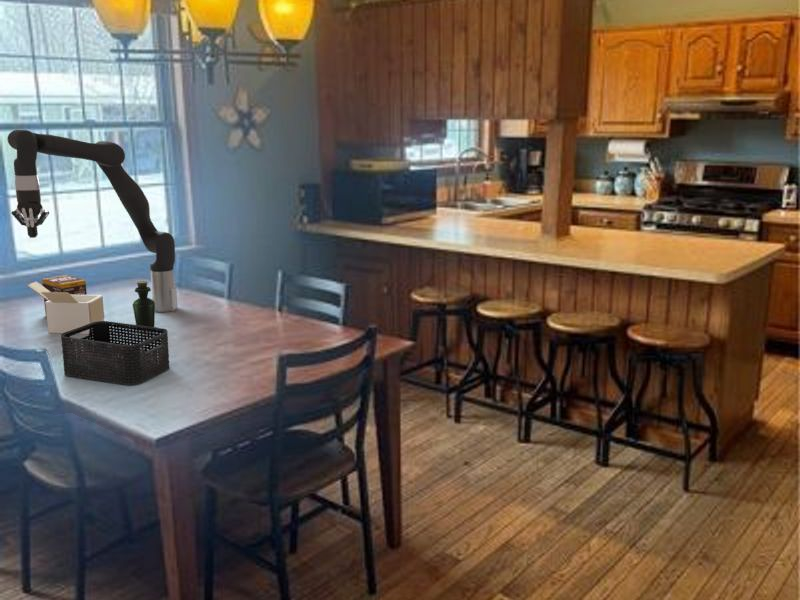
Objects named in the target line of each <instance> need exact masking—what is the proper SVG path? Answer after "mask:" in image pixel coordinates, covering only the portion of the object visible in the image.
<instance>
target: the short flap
mask: <svg viewBox="0 0 800 600" xmlns="http://www.w3.org/2000/svg"><path fill="white" fill-rule="evenodd" d="M27 287H29V288H30V289H31V290H32V291H34V292H35V293H36V294H38V295H40V296H41V297H42V298H43V299H44V298H45V299H46V300H48V298H47V297H45V296H44V295H43V294H42V293H41V292H50V291H49V290H47V289H46V288H45V287H43V284H41V283H39V282H38V281H34V282H31V283H29V284H27Z"/></svg>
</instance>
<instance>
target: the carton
mask: <svg viewBox="0 0 800 600" xmlns="http://www.w3.org/2000/svg"><path fill="white" fill-rule="evenodd" d="M71 296H72V297H73V298H74V299H75V300H77V301H78V303H52V302H51V301H50V300H48V301H46V302H45V304H44V306H45V305H46V314H47V316H46V320H47V321H46V322H47V331H48V334H62V333H65V332H67V331H70V330H73V329H76V328H79V327H82V326H85V325H87V324H90V323H93V322H98V321H105V312H104V311H105V310H104V299H103V298H104V297H103V295H101V294H87V295H71ZM46 314H45V315H46ZM92 329H93V328H92ZM89 330H90V329H89ZM89 330H86V331H83V332H81V333H78V334H81V335H82V334H83V335H89ZM78 334H77V335H78Z"/></svg>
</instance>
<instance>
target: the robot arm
mask: <svg viewBox="0 0 800 600" xmlns="http://www.w3.org/2000/svg"><path fill="white" fill-rule="evenodd" d="M6 141H7V143H8V145H9V146H10V147H11V148H12V149H14V150H16V158H15V159H14V160H13V170H14V187H15V195H16V201H17V205H16V209H14V210H12V211H11V213H10V214H12V216H13V217H14V218H15V219H16V221H18V223H19V224H20V225H21V226H25V227H26V230H27V236H28V237H29V238H30V239H33V238H34V239H35V238H37V237H38V235H39V233H38V227H39V226H42V225H43V223H44V222H45V220H46V219H47V217H48V216H49V215H50V211H48V210H45V209H44V207H43V205H42V196H41V186H40V180H39V177H38V167H37V158H38V154H39V153H40V154H44V155H49V156H55V157H63V158H72V159H81V160H86V161H92V162H95V163H96V164H97V165H98V167H99V169H101V171H102V172H103V173H104V175H105V176H106V178H107V179H108V180H109V182H110V184H111V186H112V188H113V190H114V192H115V194H116V195H117V197H118V199H119V200H120V202H121V204H122V206H123V208H124V209H125V211H126V212H127V214H128V216H129V217H130V219H131V221H132V222H133V224H134V226H135V227H136V230H137V232H138V234H139V236H140V239H141V240H142V243H143V245H144V246H145V248H146V250H147V251H148V252H150V253H152V254H155V261H153V262H151V263H150V266H149V269H150V283H151V296H152V298H151V299H152V300H153V301H154V302H155V313H157V312H158V313H165V312H168V313H169V312H174V311H175V310H177V309H178V307H179V306H178V292H177V286H176V285H175V284H176V283H175V271H174V269H175V268H174V265H175V262H176V246H175V243H176V242H175V239H174V237H173V235H172V233H170V232H166V231H165V232H164V231H159V230H158V229H157V228H156V227H155V224H154V223H153V222H152V219H151V216H150V215H151V214H150V213H151V212H150V211H151V209H150V203H149V201H148V198H147V197H146V194H145V192H144V191H143V190H142V188H141V186H139V184H138V183H137V182H136V181H135V180H134V178H133V177H131V176H130V174H129V173H127V171H126V170H125V169H124V167H123V166H122V164H123V163H124V161H125V159H126V152H125V151H124V148H123V147H121V145H119V144H118V143H115V142H111V141H108V140H107V141H106V140H100V141H96V142H95V143H93V142H87V141H86V142H85V141H82V140H77V139H74V138H69V137H66V136H65V137H64V136H60V135H54V134H50V133H49V134H47V133H46V134H45V133H37V132H36V133H35V132H32V131H30V130H27V129H15V130H13V131H10V132H9V133H8V135H7V140H6ZM39 215H40V216H39Z"/></svg>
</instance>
